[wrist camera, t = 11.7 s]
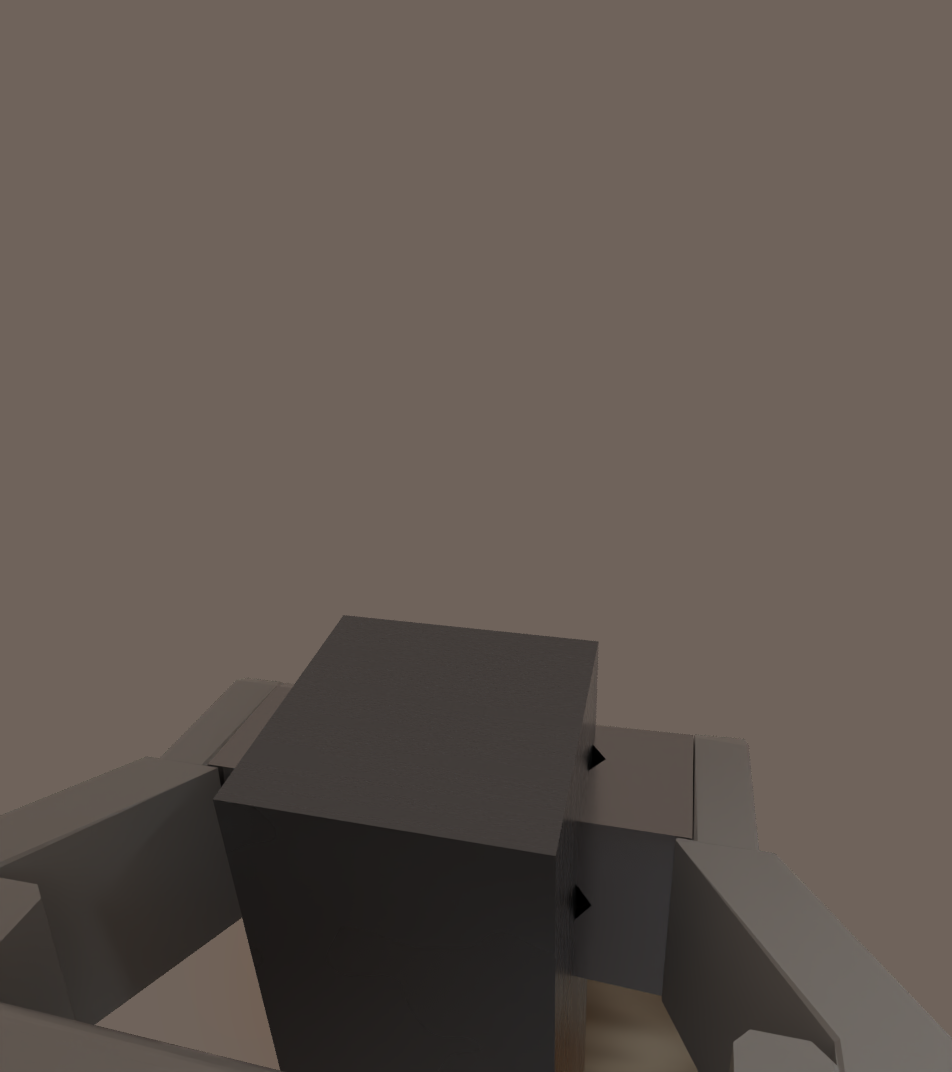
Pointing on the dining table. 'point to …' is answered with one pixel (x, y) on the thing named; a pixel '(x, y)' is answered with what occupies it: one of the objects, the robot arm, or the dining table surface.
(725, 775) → the robot arm
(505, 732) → the bar
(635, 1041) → the shelf stand
